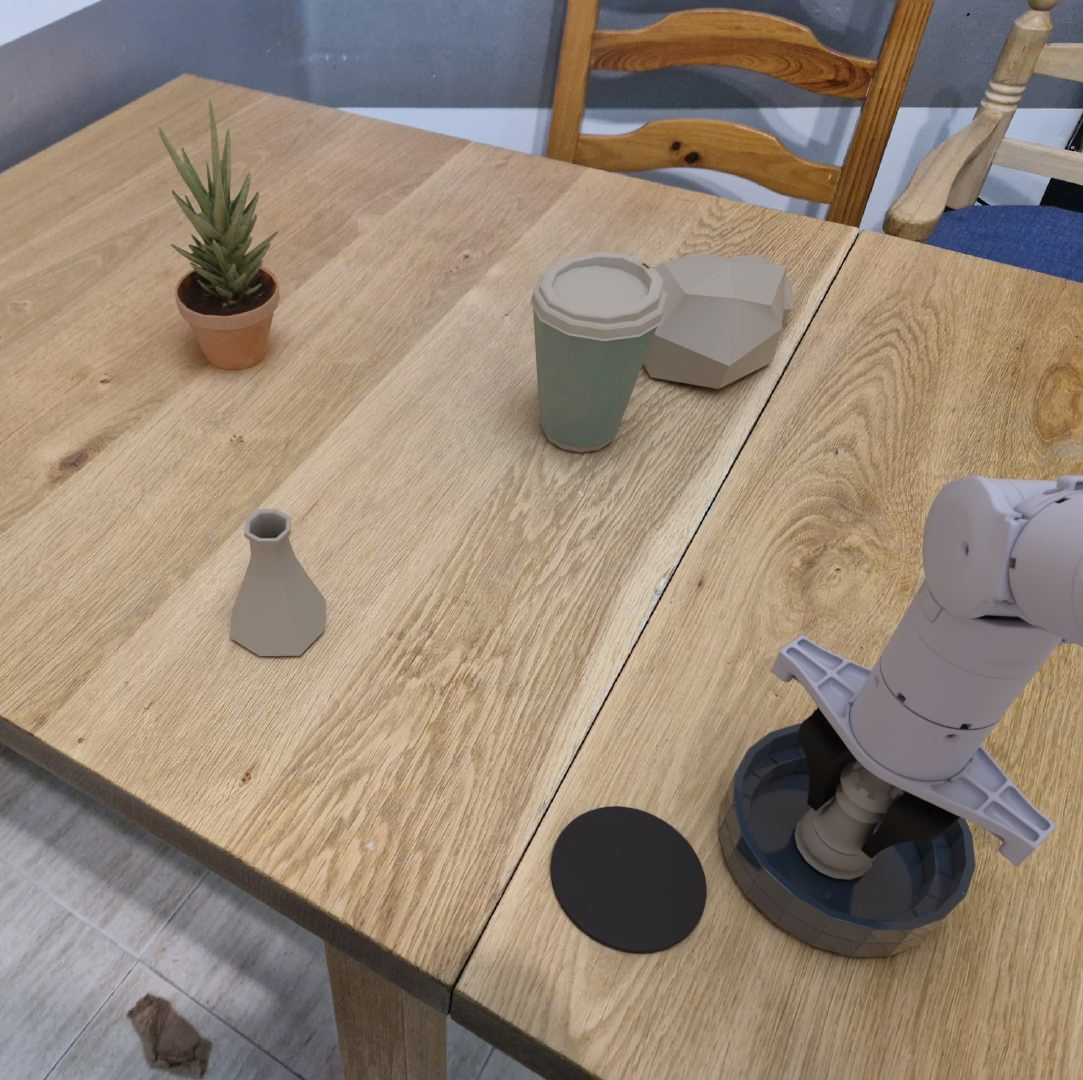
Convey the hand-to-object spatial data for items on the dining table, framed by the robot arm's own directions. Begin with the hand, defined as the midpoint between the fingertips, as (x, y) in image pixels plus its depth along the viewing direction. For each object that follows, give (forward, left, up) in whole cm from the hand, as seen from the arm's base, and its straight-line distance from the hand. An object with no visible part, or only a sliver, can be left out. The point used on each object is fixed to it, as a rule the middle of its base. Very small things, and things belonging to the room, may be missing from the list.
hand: (848, 821), depth 58 cm
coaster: (+6, +11, -4) cm, 13 cm away
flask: (+35, +17, -4) cm, 39 cm away
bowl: (0, 0, -4) cm, 4 cm away
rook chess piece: (0, 0, -3) cm, 3 cm away
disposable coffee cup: (+38, -16, -4) cm, 41 cm away
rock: (+40, -36, -4) cm, 54 cm away
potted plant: (+66, +2, -4) cm, 66 cm away
